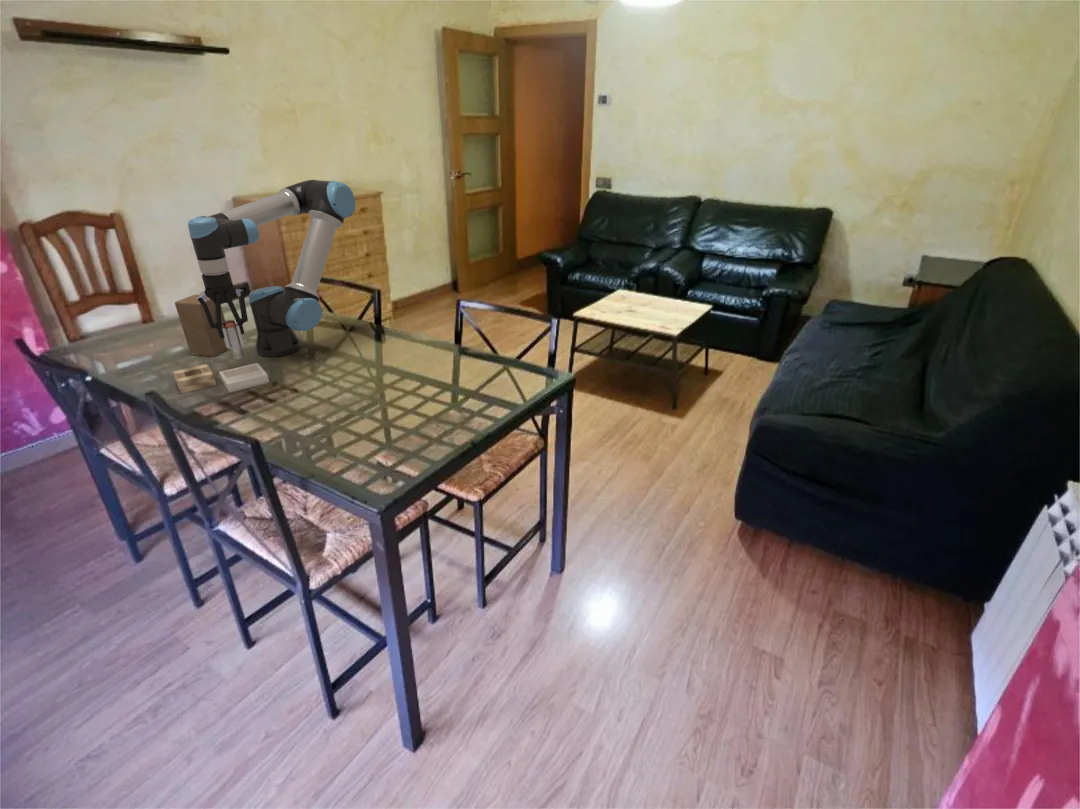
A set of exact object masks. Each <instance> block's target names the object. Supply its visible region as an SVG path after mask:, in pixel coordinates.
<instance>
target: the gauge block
mask: <svg viewBox="0 0 1080 809" xmlns="http://www.w3.org/2000/svg"><path fill="white" fill-rule="evenodd" d="M172 374H173V377H174V380H175V381H174V382H175V383H176V385H177V387H178V390H179V392H180V394H185V393H186V394H187V393H190V392H193V391H198V390H202V389H205V388H206V389H207V388H210V387H214V386H217V382H216V379H215V376H214V373H213V372H212V370H211V369H210V367H209V365H208V364H207V363H206V364H200V365H197V366H192V367H188V368H182V369H179V370H178V369H177V370H174V371H172Z"/></svg>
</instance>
